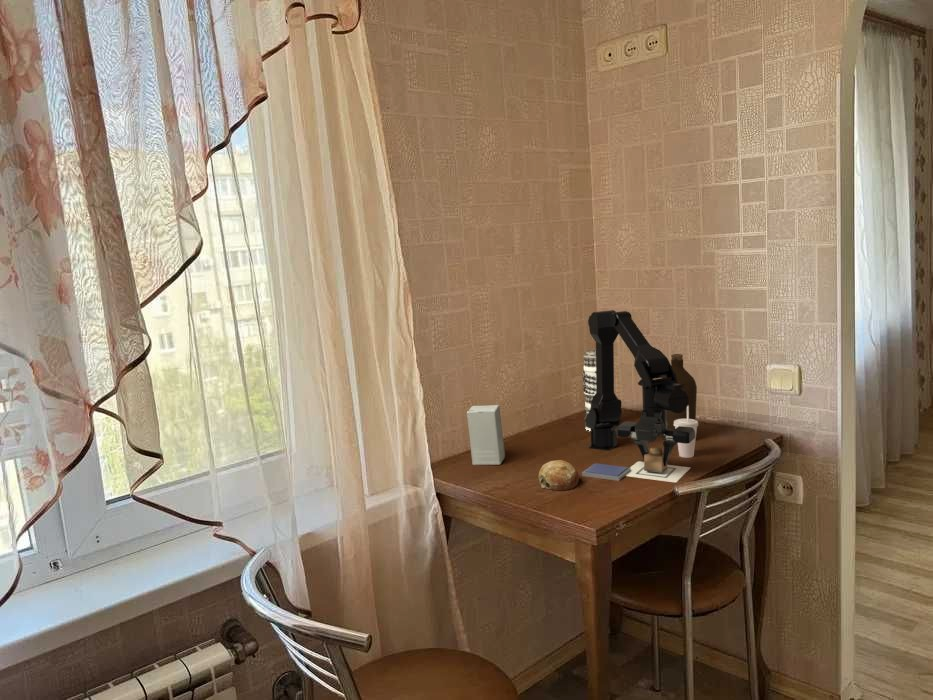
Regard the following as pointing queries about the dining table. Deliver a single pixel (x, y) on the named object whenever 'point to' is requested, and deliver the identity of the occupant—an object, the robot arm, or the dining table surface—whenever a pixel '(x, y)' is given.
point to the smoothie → (688, 448)
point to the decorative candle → (589, 380)
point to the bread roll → (558, 475)
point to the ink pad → (606, 471)
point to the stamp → (654, 460)
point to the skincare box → (486, 435)
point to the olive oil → (687, 386)
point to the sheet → (668, 475)
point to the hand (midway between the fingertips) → (655, 464)
